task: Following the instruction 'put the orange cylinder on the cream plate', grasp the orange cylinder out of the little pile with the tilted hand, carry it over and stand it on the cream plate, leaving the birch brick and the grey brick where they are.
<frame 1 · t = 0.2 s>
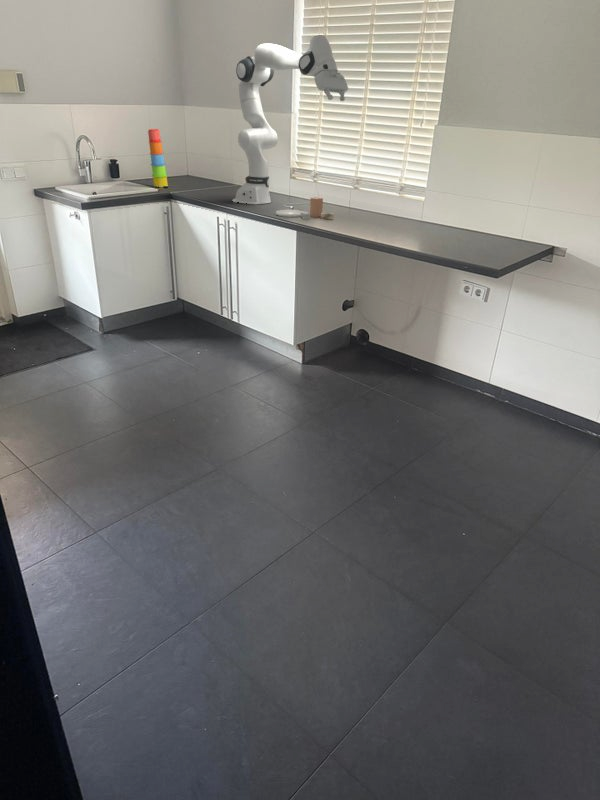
hand: (336, 100, 270), 54 cm above the counter, tool tilted 30°, fingers open, 8 cm apart
grey brick: (305, 218, 290), on the counter
orange cylinder: (316, 216, 295), on the counter
cream plate: (289, 214, 297), on the counter
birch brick: (326, 219, 289), on the counter
stacking cups: (161, 187, 371), on the counter
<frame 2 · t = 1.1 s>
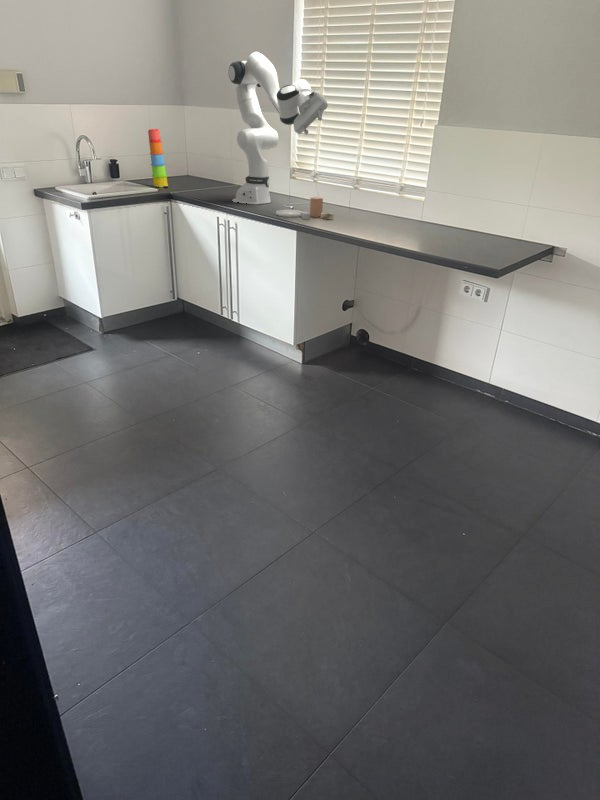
hand: (313, 126, 272), 42 cm above the counter, tool tilted 55°, fingers open, 8 cm apart
nothing on the counter moved.
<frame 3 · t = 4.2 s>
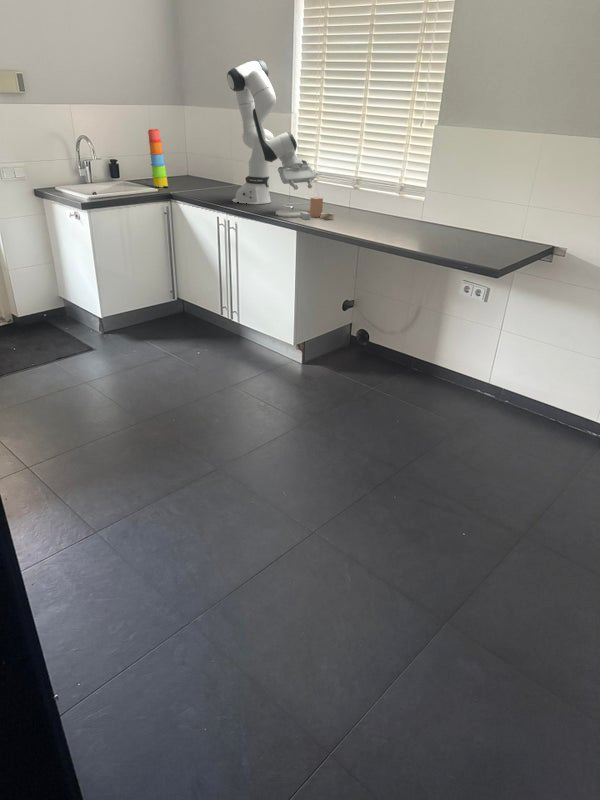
hand: (303, 188, 295), 13 cm above the counter, tool tilted 45°, fingers open, 8 cm apart
nothing on the counter moved.
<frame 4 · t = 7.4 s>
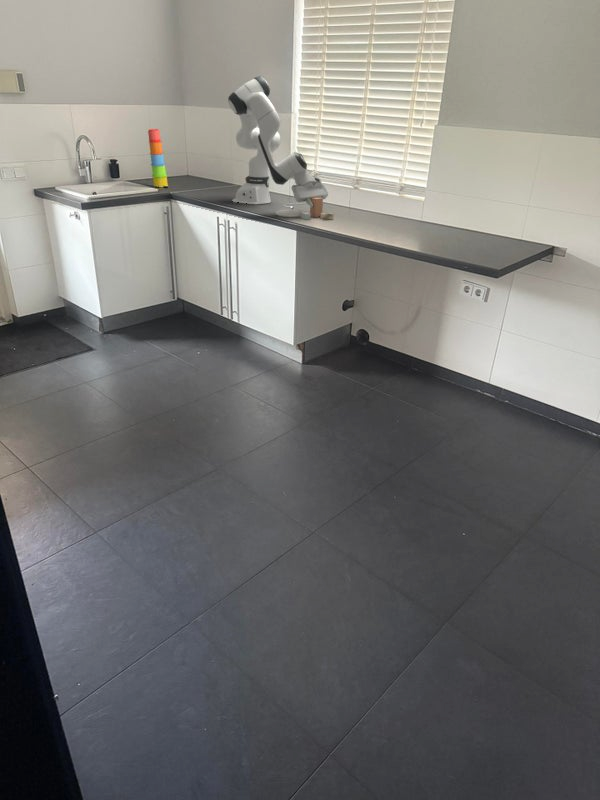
hand: (317, 206, 293), 5 cm above the counter, tool tilted 45°, fingers closed on orange cylinder, 4 cm apart
orange cylinder: (316, 216, 295), on the counter, touching gripper
everything else where it was.
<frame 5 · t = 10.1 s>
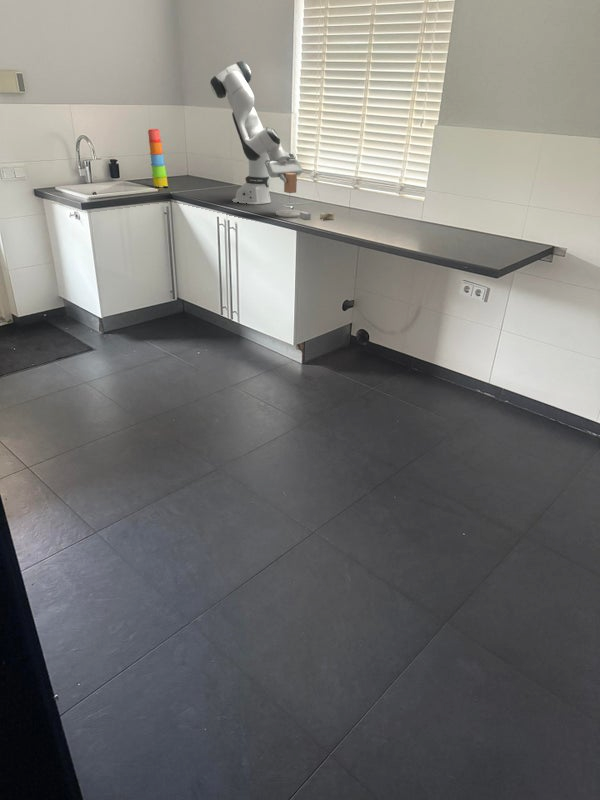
hand: (291, 182, 289), 16 cm above the counter, tool tilted 45°, fingers closed on orange cylinder, 4 cm apart
orange cylinder: (290, 192, 292), point 11 cm above the counter, touching gripper
everything else where it was.
when the fingers open (8 cm above the counter, at t = 12.8 s): orange cylinder drops 1 cm, resting on cream plate.
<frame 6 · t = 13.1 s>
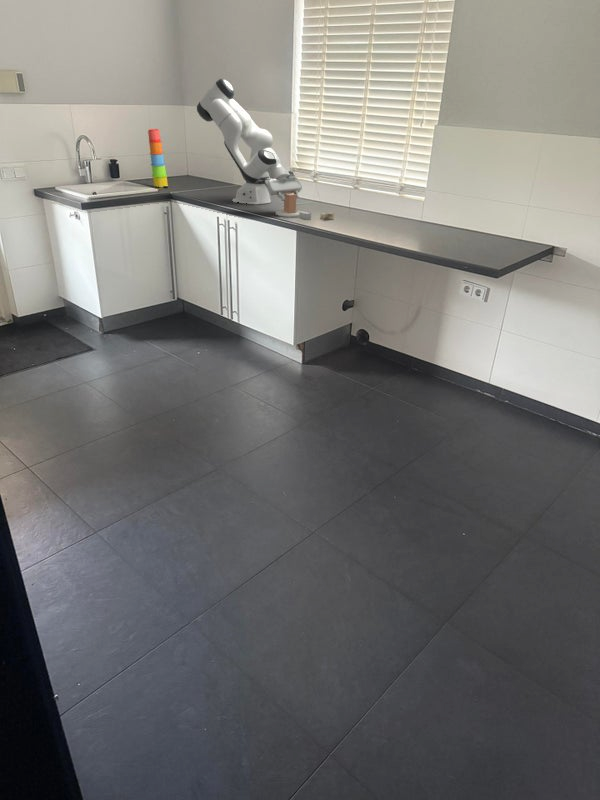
hand: (290, 199, 293), 8 cm above the counter, tool tilted 45°, fingers open, 7 cm apart
orange cylinder: (289, 212, 297), point 1 cm above the counter, touching cream plate
everything else where it was.
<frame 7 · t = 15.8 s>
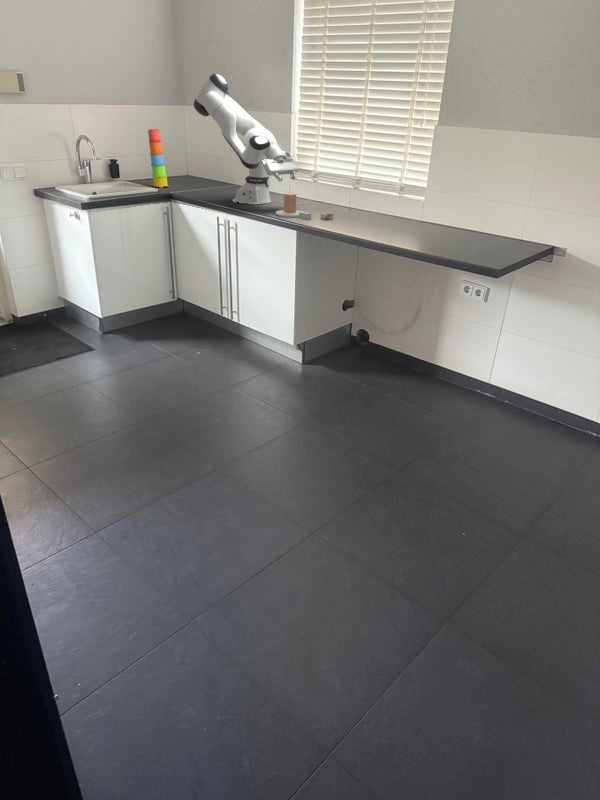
hand: (287, 180, 299), 16 cm above the counter, tool tilted 45°, fingers open, 8 cm apart
nothing on the counter moved.
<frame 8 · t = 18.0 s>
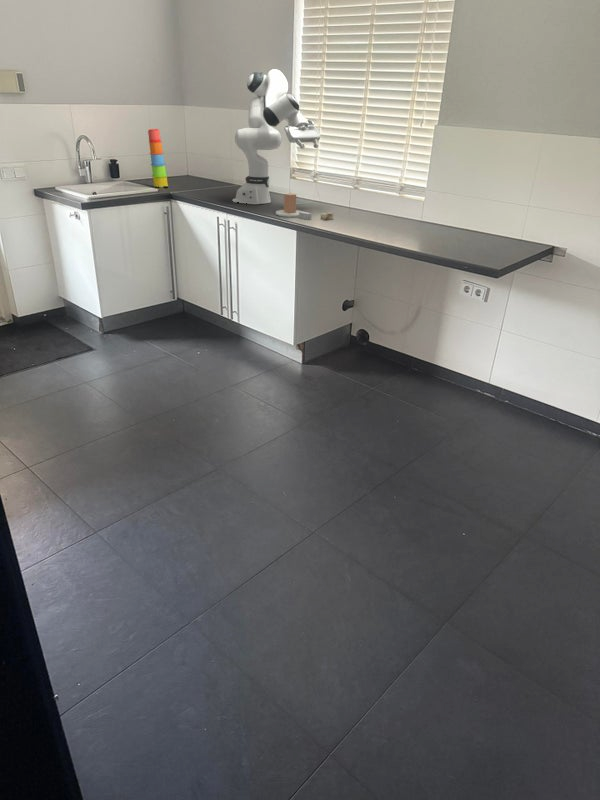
hand: (309, 147, 297), 31 cm above the counter, tool tilted 45°, fingers open, 8 cm apart
at the end: orange cylinder inside the target area on the cream plate (0.0 cm from its centre), point 1.2 cm above the cream plate's base; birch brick moved 0.2 cm from its start; grey brick moved 0.2 cm from its start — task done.
